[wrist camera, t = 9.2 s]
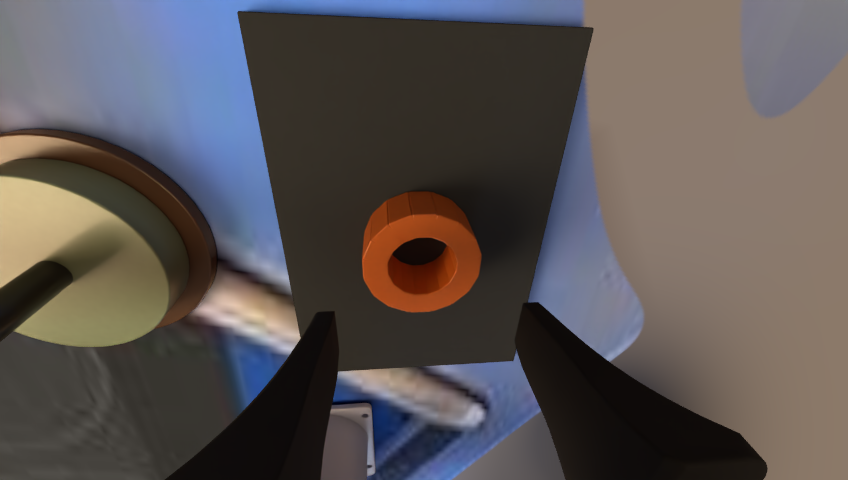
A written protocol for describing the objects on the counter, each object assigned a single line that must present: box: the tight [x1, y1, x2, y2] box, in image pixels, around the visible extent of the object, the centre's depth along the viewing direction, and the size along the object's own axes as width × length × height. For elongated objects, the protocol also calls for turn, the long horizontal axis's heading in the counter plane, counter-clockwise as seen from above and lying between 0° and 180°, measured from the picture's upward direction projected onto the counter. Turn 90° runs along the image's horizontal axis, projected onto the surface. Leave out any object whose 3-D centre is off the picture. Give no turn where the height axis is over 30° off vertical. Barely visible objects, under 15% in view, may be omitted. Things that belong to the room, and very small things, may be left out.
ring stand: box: [0, 129, 217, 347], centre depth 15 cm, size 11×11×7 cm
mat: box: [238, 11, 593, 371], centre depth 19 cm, size 20×14×1 cm
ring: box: [362, 191, 482, 312], centre depth 18 cm, size 6×6×3 cm
